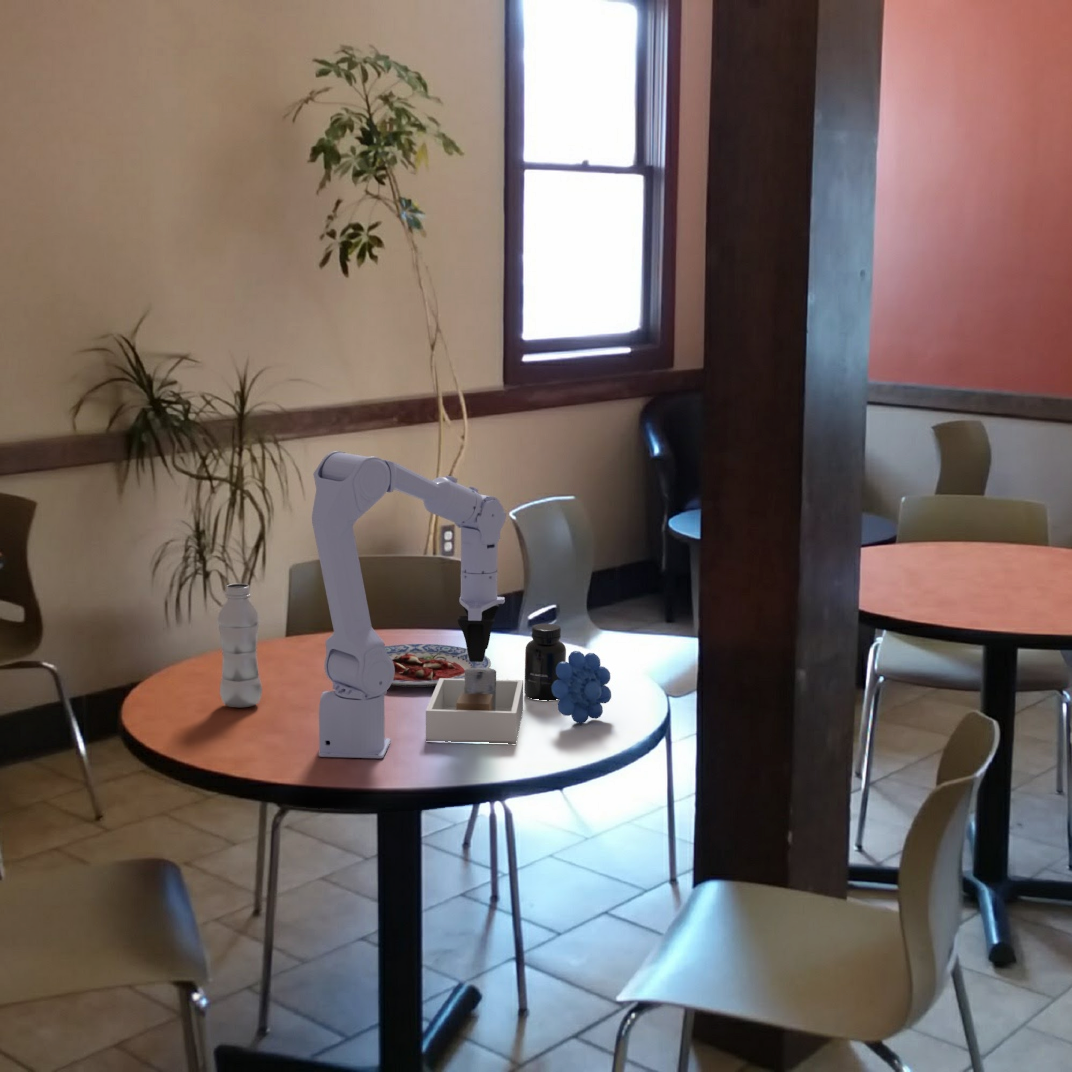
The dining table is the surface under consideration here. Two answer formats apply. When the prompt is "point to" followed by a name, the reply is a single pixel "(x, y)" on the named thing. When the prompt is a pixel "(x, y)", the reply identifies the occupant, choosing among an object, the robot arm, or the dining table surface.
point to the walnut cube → (474, 702)
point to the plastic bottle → (239, 648)
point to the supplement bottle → (543, 661)
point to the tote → (474, 714)
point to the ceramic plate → (429, 663)
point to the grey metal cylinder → (481, 682)
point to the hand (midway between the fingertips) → (478, 654)
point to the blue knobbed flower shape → (581, 686)
